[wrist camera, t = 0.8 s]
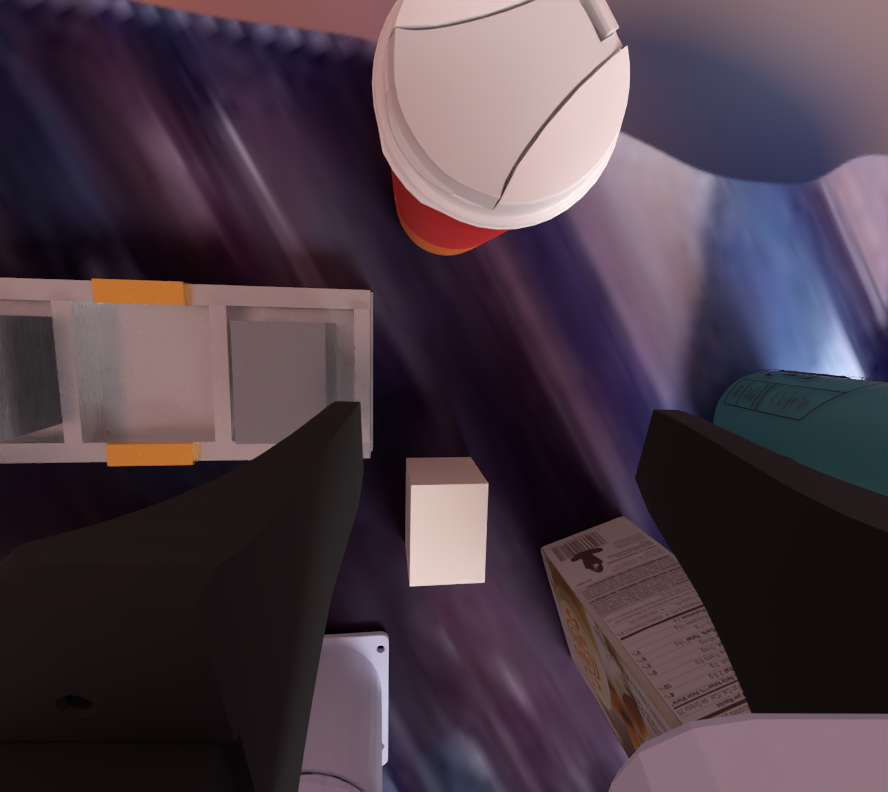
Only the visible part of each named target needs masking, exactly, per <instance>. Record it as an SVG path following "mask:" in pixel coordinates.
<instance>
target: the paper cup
mask: <svg viewBox="0 0 888 792" xmlns="http://www.w3.org/2000/svg"><path fill="white" fill-rule="evenodd" d="M618 28H619V26H618V24H617V22H616V20H615V18H614V16H613V14H612V12H611V10H610V8H609V6H608V4H607V2H606V0H397V1H396V3H395V4H394V6H393V8H392V9H391V11H390V13H389V14H388V16H387V18H386V21H385V23H384V26H383V28H382V31H381V33H380V36H379V39H378V43H377V47H376V52H375V56H374V62H373V75H372V90H373V104H374V110H375V115H376V119H377V124H378V129H379V135H380V141H381V146H382V152H383V154H384V156H385V157H386V159H387V161H388V163H389V165H390V167H391V172H392V180H393V189H394V196H395V203H396V209H397V213H398V217H399V220H400V223H401V225H402V227H403V229H404V231H405V232H406V234H407V235H408V236H409V238H410V239H411V240H412V241H413V242H414V243H415V244H417V245H418V246H419V247H421V248H422V249H424V250H426V251H428V252H431V253H434V254H438V255H456V254H460V253H463V252H466V251H468V250H471V249H473V248H475V247H477V246H479V245H481V244H483V243H485V242H487V241H489V240H491V239H493V238H495V237H497V236H499V235H500V234H502V233H504V232H506V231H508V230H510V229H519V228H524V227H529V226H534V225H536V224H539V223H542V222H544V221H547V220H549V219H552V218H554V217H555V216H557V215H559V214H560V213H562V212H564V211H565V210H567V209H569V208H570V207H571V206H572V205H574V204H575V203H576V202H577V201H578V200H580V199H581V198H582V197H583V196H584V195H585V194H586V193H587V192H588V190H589V189H590V188H591V187H592V186H593V185H594V184H595V183H596V181H597V180H598V178H599V177H600V175H601V173H602V172H603V170H604V169H605V167H606V166H607V164H608V161H609V159H610V157H611V155H612V153H613V150H614V148H615V145H616V142H617V139H618V135H619V132H620V128H621V124H622V120H623V117H624V114H625V110H626V106H627V99H628V93H629V85H630V84H629V83H630V62H629V54H628V46H626V47H625V48H624V49H622V50H621V47H622V44H621V42H620V40H619V38H618V36H617V34H616V30H617V29H618Z"/></svg>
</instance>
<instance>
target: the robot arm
mask: <svg viewBox="0 0 888 792" xmlns="http://www.w3.org/2000/svg"><path fill="white" fill-rule="evenodd" d="M363 473H364V469H363V447H362V425H361V402H353V401H334V402H333V403H331V404H330V405H329V406H327V407H326V408H325V409H323V410H322V411H321V412H320V413H318V414H317V415H316V416H314V417H313V418H312V419H311V420H309V421H308V422H307V423H305V424H304V425H303V426H301V427H300V428H299V429H297V430H296V431H295V432H293V433H292V434H291V435H289V436H288V437H286V438H285V439H283V440H282V441H280V442H279V443H277V444H276V445H274V446H273V447H271V448H270V449H268V450H267V451H265V452H264V453H262V454H261V455H259V456H257V457H256V458H254V459H252V460H251V461H249V462H247V463H245V464H244V465H242V466H240V467H238V468H236V469H234V470H232V471H230V472H229V473H227V474H225V475H223V476H221V477H219V478H217V479H215V480H213V481H210V482H208V483H206V484H203V485H201V486H199V487H196V488H194V489H192V490H190V491H187V492H185V493H183V494H180V495H178V496H176V497H173V498H171V499H168V500H166V501H163V502H161V503H158V504H155V505H152V506H150V507H147V508H144V509H141V510H138V511H135V512H132V513H129V514H127V515H124V516H121V517H118V518H115V519H111V520H108V521H105V522H102V523H98V524H95V525H91V526H88V527H84V528H80V529H77V530H73V531H69V532H66V533H62V534H58V535H55V536H51V537H47V538H44V539H40V540H36V541H32V542H28V543H24V544H20V545H19V546H18V547H17V548H16V549H15V550H14V551H13V552H11V553H10V554H9V555H8V556H7V557H6V558H5V559H4V560H3V561H2V562H0V792H382V766H383V765H384V764H386V762H387V761H388V671H389V637H388V635H387V633H385V632H383V631H377V632H362V633H346V634H330V635H324V633H325V628H326V623H327V617H328V612H329V607H330V602H331V598H332V594H333V590H334V586H335V583H336V579H337V576H338V573H339V569H340V566H341V563H342V560H343V556H344V553H345V550H346V546H347V543H348V540H349V536H350V533H351V530H352V526H353V523H354V519H355V516H356V512H357V509H358V505H359V499H360V493H361V486H362V480H363ZM635 479H636V481H637V484H638V487H639V489H640V492H641V495H642V497H643V499H644V502H645V504H646V506H647V509H648V511H649V513H650V515H651V517H652V518H653V520H654V522H655V524H656V525H657V527H658V529H659V530H660V532H661V534H662V535H663V537H664V539H665V540H666V542H667V544H668V545H669V547H670V549H671V550H672V552H673V554H674V555H675V557H676V559H677V560H678V562H679V564H680V565H681V567H682V569H683V570H684V572H685V574H686V575H687V577H688V579H689V580H690V582H691V584H692V585H693V587H694V589H695V590H696V592H697V594H698V596H699V598H700V599H701V601H702V603H703V605H704V607H705V609H706V611H707V613H708V615H709V617H710V619H711V621H712V623H713V626H714V628H715V630H716V632H717V634H718V636H719V638H720V641H721V643H722V645H723V647H724V649H725V651H726V654H727V656H728V658H729V661H730V663H731V665H732V668H733V670H734V672H735V675H736V677H737V679H738V682H739V684H740V686H741V689H742V691H743V694H744V696H745V698H746V701H747V704H748V706H749V709H750V711H751V713H745V714H738V715H732V716H725V717H718V718H711V719H704V720H697V721H691V722H688V723H686V724H683V725H681V726H679V727H677V728H675V729H673V730H670V731H668V732H666V733H664V734H662V735H660V736H657V737H655V738H653V739H651V740H649V741H647V742H645V743H642V745H641V746H640V747H639V748H638V749H637V750H636V751H635V753H634V754H633V755H632V756H631V757H630V758H629V759H628V761H627V762H626V763H625V764H624V765H623V766H622V767H621V769H620V770H619V771H618V773H617V774H616V776H615V778H614V780H613V782H612V784H611V786H610V789H609V792H888V496H886V495H883V494H879V493H877V492H874V491H871V490H868V489H865V488H863V487H860V486H857V485H854V484H851V483H849V482H846V481H843V480H840V479H838V478H835V477H832V476H830V475H827V474H825V473H822V472H820V471H817V470H815V469H812V468H810V467H808V466H805V465H803V464H801V463H798V462H796V461H793V460H791V459H789V458H786V457H784V456H782V455H780V454H777V453H775V452H773V451H771V450H768V449H766V448H764V447H762V446H760V445H758V444H755V443H753V442H751V441H749V440H747V439H745V438H743V437H740V436H738V435H736V434H734V433H732V432H730V431H728V430H725V429H723V428H721V427H719V426H717V425H715V424H712V423H710V422H708V421H706V420H703V419H701V418H699V417H696V416H694V415H691V414H688V413H686V412H682V411H679V410H653V414H652V417H651V421H650V425H649V428H648V432H647V436H646V439H645V443H644V447H643V450H642V454H641V458H640V461H639V465H638V469H637V472H636V476H635ZM378 646H384V648H382V649H379V648H377V647H378Z"/></svg>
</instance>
